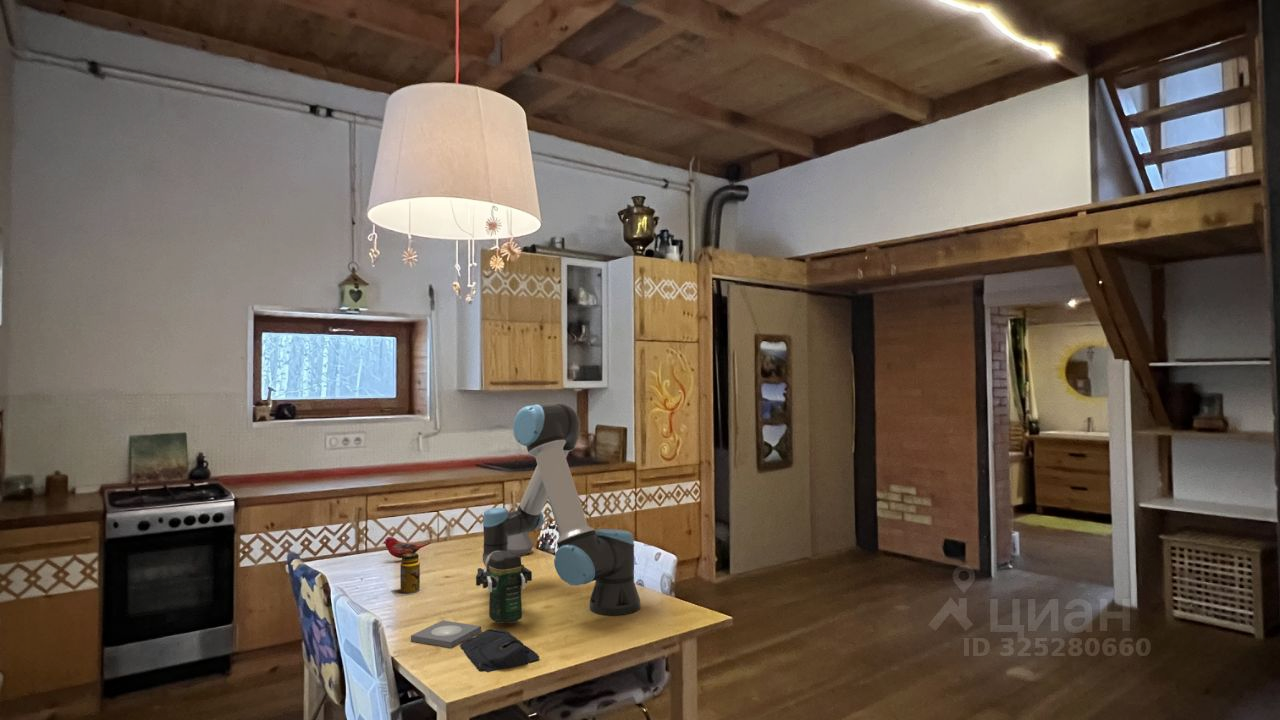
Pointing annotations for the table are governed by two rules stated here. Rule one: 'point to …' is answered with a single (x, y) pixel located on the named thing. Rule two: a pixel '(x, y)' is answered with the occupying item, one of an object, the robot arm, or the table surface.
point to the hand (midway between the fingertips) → (507, 585)
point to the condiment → (409, 575)
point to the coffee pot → (519, 544)
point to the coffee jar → (505, 587)
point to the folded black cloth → (497, 651)
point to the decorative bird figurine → (401, 547)
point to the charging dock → (446, 633)
